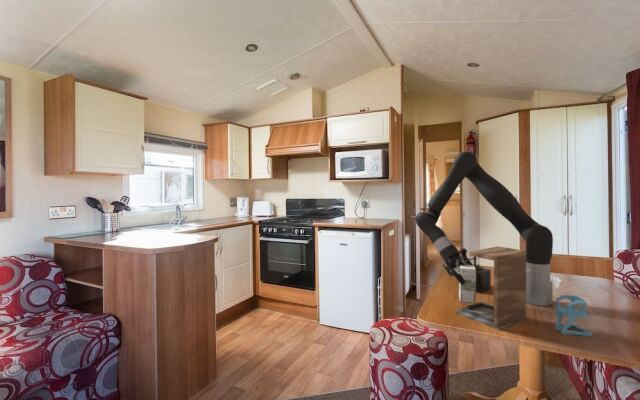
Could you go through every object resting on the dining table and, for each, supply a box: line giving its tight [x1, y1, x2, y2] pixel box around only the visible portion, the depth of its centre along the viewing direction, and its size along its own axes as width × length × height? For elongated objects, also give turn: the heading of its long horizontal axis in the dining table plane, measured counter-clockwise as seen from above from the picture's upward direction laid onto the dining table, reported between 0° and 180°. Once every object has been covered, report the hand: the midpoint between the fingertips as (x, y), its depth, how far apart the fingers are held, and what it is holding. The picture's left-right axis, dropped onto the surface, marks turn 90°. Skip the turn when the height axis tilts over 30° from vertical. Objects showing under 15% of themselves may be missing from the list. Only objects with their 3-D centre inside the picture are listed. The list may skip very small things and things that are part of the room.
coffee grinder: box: [458, 247, 492, 294], centre depth 151 cm, size 16×11×18 cm
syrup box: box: [458, 265, 477, 304], centre depth 127 cm, size 6×6×14 cm
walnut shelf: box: [455, 245, 527, 331], centre depth 118 cm, size 17×18×26 cm
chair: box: [554, 294, 593, 337], centre depth 104 cm, size 8×8×12 cm
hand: (470, 281), depth 125 cm, fingers closed on syrup box, 8 cm apart
